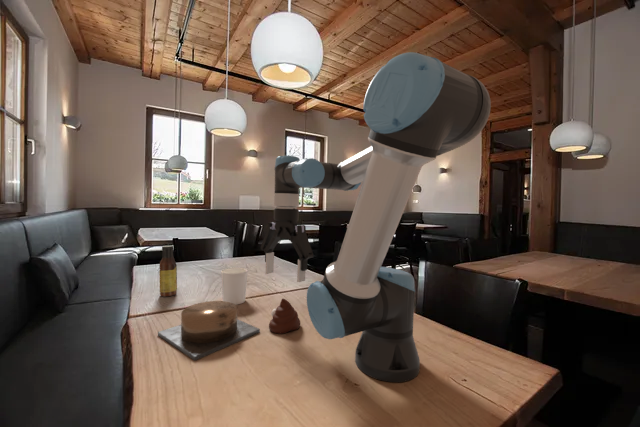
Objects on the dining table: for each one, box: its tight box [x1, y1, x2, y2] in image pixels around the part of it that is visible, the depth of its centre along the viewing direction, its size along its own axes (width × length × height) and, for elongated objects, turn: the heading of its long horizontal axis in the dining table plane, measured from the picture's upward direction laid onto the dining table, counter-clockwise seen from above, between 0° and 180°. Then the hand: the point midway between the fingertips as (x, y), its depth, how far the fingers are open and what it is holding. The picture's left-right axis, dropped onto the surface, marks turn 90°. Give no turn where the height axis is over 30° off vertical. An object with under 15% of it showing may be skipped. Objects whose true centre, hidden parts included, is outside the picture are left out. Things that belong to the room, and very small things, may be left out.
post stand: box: [157, 300, 261, 361], centre depth 82 cm, size 20×20×7 cm
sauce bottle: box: [158, 245, 178, 298], centre depth 115 cm, size 7×6×20 cm
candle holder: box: [220, 267, 249, 306], centre depth 109 cm, size 10×10×12 cm
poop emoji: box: [268, 298, 301, 335], centre depth 87 cm, size 10×8×9 cm
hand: (284, 277), depth 87 cm, fingers open, 13 cm apart
